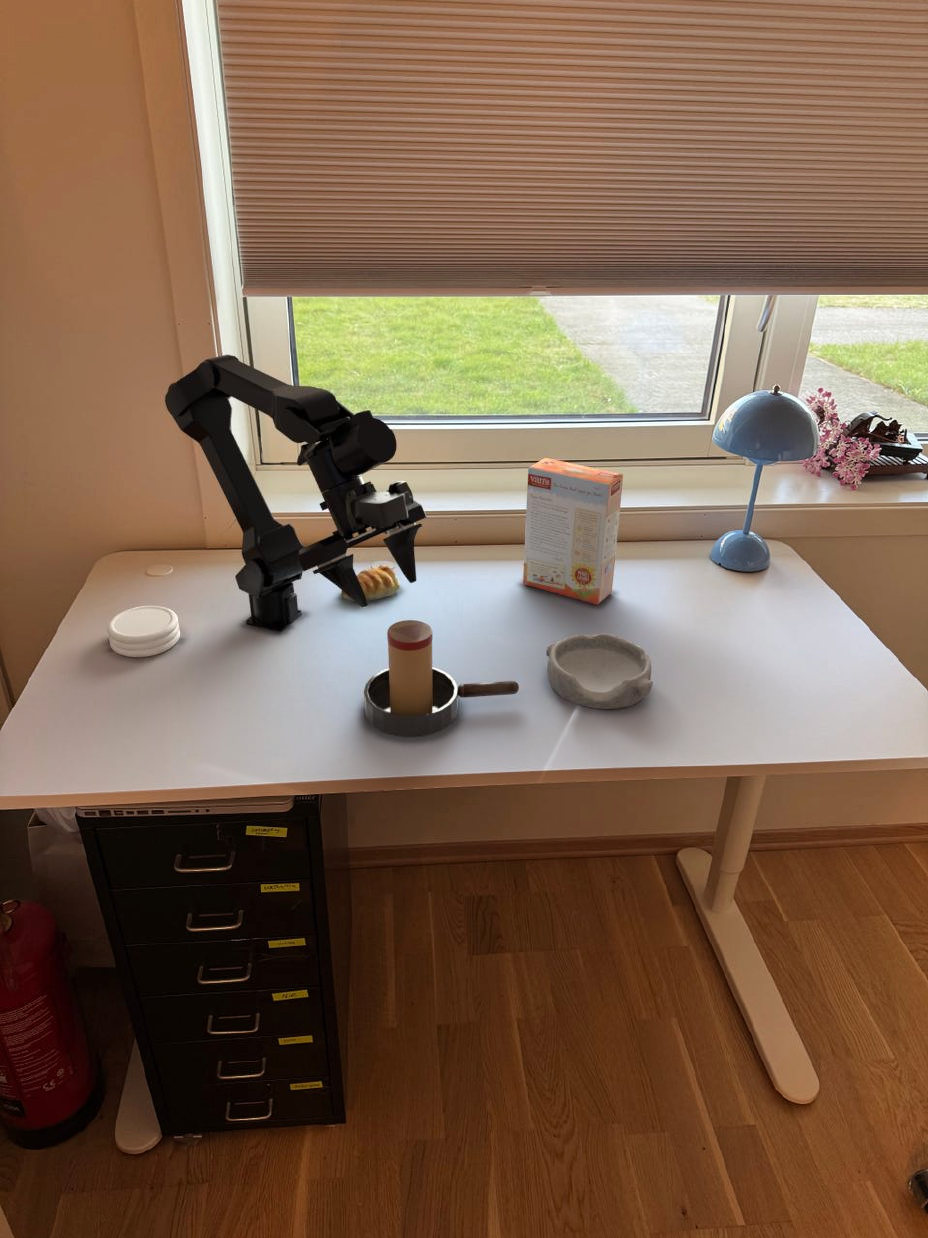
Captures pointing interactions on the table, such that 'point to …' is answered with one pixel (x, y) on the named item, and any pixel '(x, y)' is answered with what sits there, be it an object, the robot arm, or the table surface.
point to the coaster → (143, 631)
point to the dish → (599, 671)
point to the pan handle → (487, 689)
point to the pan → (411, 724)
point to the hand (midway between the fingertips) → (389, 594)
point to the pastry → (377, 583)
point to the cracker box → (571, 529)
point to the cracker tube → (410, 667)
